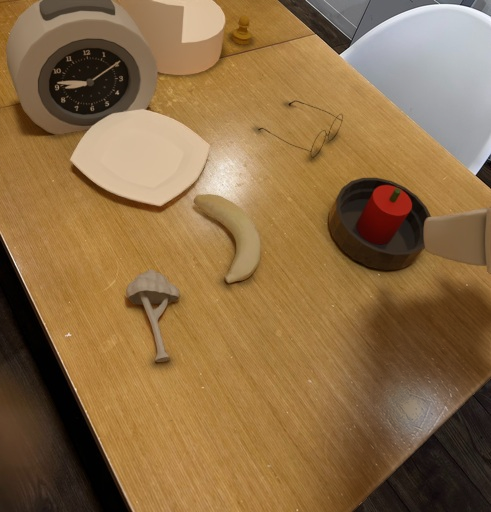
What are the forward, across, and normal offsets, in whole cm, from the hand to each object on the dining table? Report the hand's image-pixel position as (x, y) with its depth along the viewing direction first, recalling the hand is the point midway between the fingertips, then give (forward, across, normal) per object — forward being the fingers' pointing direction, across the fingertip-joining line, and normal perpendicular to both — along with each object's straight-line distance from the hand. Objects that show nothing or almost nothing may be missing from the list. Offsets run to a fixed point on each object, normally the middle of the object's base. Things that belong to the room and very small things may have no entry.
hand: (462, 218), depth 61 cm
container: (+56, +21, -33) cm, 68 cm away
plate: (+33, +33, -11) cm, 48 cm away
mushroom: (+13, +37, +9) cm, 40 cm away
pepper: (+18, 0, +3) cm, 19 cm away
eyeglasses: (+36, +4, -13) cm, 38 cm away
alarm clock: (+42, +40, -20) cm, 61 cm away
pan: (+19, 0, +4) cm, 19 cm away
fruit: (+21, +24, +2) cm, 32 cm away
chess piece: (+57, +6, -34) cm, 66 cm away
